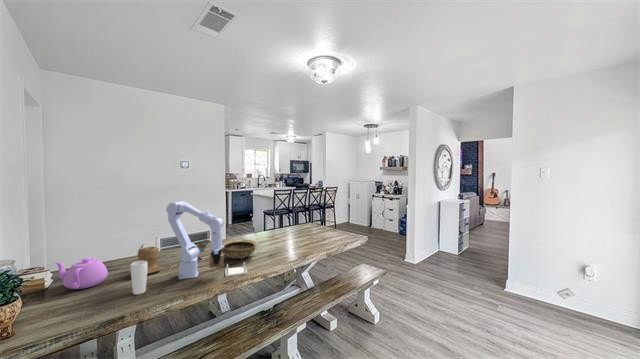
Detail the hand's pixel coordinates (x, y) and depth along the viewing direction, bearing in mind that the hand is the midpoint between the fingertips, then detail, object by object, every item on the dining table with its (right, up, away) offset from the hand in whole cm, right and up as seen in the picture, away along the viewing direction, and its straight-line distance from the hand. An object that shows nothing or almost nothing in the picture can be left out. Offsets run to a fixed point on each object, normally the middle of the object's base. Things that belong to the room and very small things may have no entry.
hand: (216, 262), depth 142 cm
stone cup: (-43, -8, +4) cm, 44 cm away
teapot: (-66, -8, -12) cm, 68 cm away
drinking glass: (-31, -9, -19) cm, 37 cm away
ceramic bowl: (+3, -8, +32) cm, 33 cm away
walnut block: (0, -2, 0) cm, 2 cm away
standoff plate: (+9, -8, +8) cm, 14 cm away
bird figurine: (-24, -7, +25) cm, 35 cm away
